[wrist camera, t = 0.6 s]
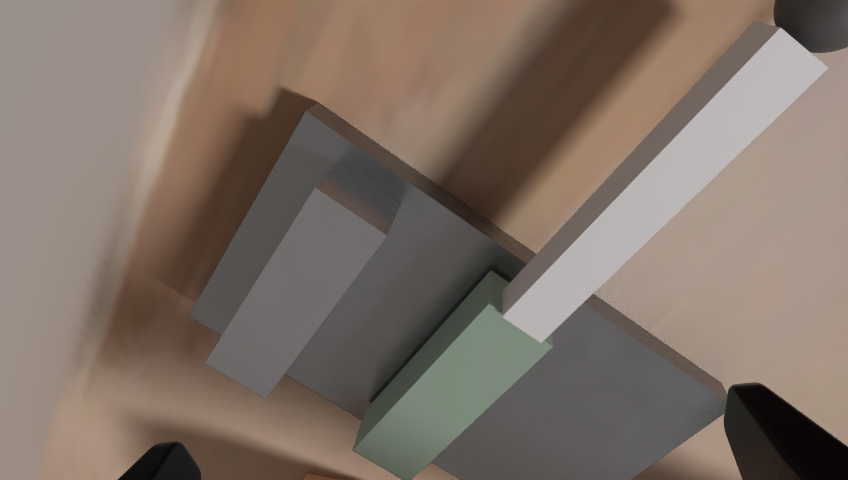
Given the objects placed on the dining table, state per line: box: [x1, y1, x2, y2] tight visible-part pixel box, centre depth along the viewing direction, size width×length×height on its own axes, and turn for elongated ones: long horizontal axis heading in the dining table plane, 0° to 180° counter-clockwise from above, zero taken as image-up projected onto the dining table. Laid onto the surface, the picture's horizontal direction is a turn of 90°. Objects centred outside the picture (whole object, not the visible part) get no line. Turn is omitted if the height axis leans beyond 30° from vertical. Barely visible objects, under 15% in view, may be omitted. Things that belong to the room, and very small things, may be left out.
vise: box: [189, 103, 728, 480], centre depth 24 cm, size 22×12×4 cm, turn 56°
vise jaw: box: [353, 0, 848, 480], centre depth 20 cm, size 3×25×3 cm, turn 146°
